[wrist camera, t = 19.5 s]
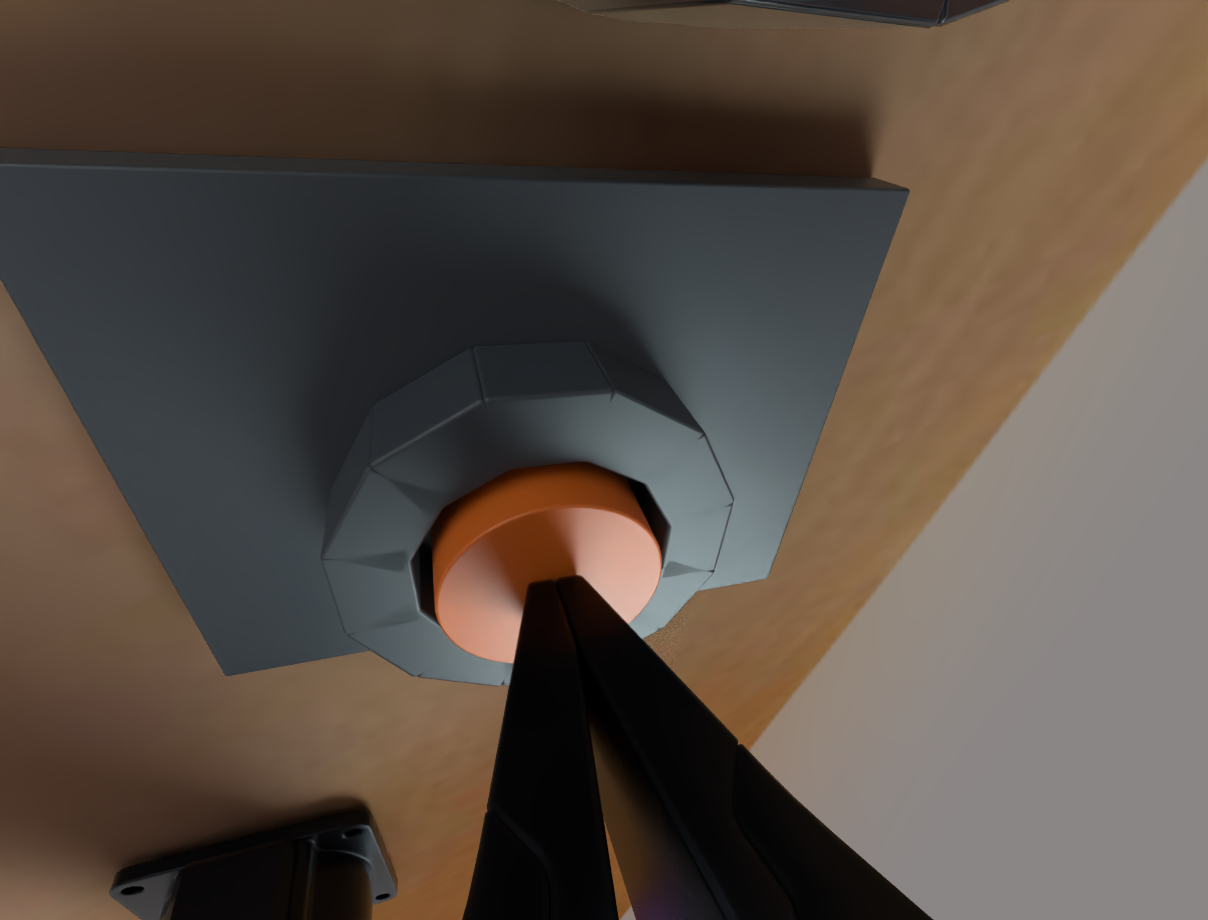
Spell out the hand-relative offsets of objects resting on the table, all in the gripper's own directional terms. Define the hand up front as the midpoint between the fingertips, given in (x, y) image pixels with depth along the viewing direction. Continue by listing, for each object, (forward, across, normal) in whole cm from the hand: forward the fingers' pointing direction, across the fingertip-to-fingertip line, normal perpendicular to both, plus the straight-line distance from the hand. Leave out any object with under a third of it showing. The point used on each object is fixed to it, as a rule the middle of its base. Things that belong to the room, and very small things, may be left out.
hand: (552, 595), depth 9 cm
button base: (+3, 0, -1) cm, 3 cm away
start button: (+2, 0, 0) cm, 2 cm away
